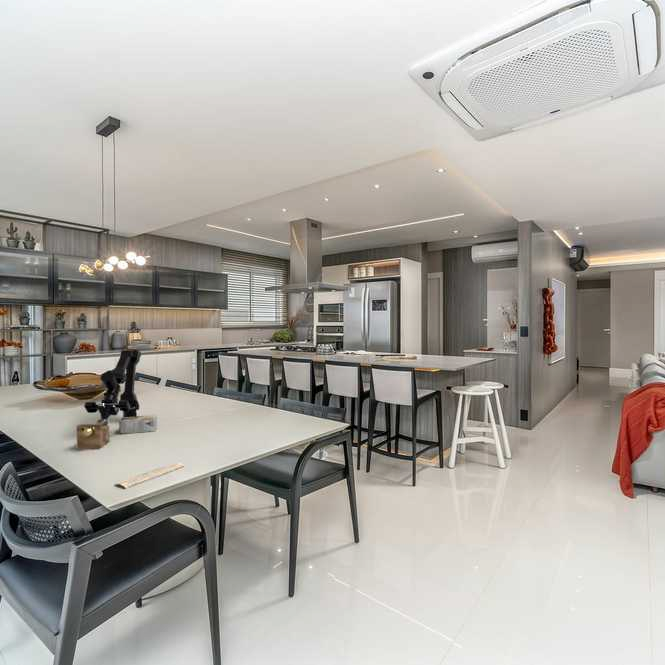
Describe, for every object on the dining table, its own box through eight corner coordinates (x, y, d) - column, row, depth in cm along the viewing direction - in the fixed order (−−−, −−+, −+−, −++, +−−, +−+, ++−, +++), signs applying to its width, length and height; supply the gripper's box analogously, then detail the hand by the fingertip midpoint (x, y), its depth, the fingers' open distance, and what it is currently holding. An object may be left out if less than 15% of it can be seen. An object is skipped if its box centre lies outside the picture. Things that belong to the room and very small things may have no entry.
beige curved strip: (125, 491, 130) (125, 485, 130) (112, 487, 134) (112, 481, 134) (185, 468, 151) (185, 463, 151) (172, 465, 154) (172, 460, 154)
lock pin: (97, 428, 186) (97, 418, 186) (107, 428, 186) (107, 418, 186) (80, 438, 169) (80, 428, 169) (91, 438, 170) (91, 427, 170)
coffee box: (157, 427, 209) (122, 429, 204) (156, 414, 209) (122, 417, 204) (155, 431, 200) (119, 434, 195) (155, 418, 200) (118, 421, 195)
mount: (87, 443, 181) (87, 420, 181) (109, 442, 182) (109, 419, 182) (77, 450, 171) (76, 425, 171) (100, 449, 172) (99, 424, 172)
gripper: (136, 402, 204) (129, 430, 194) (96, 404, 201) (86, 432, 191) (130, 389, 196) (122, 417, 186) (88, 390, 193) (78, 419, 183)
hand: (102, 422), depth 186 cm, fingers closed, pressing on lock pin
